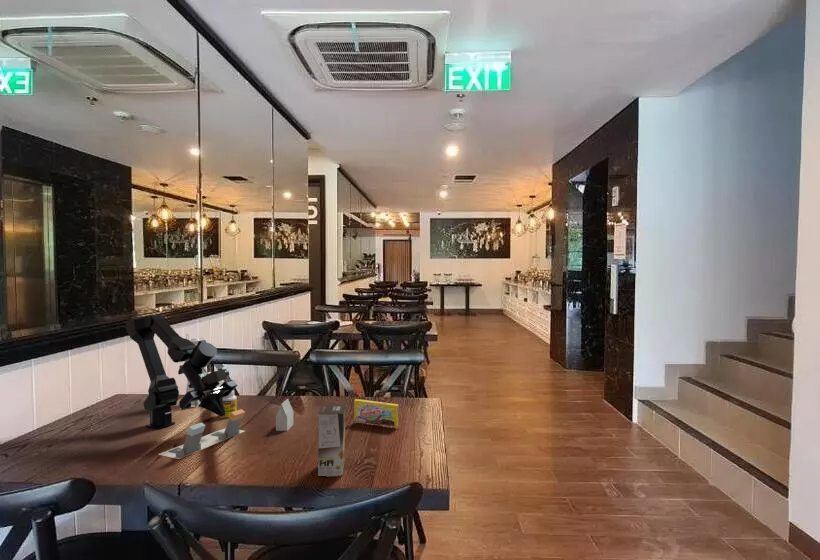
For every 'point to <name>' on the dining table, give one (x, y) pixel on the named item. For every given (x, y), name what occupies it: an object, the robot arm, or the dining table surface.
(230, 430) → the lever
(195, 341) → the skyscraper
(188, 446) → the lever
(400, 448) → the dining table surface
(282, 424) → the grey house block
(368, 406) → the candy box
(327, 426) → the coffee box
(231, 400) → the supplement bottle
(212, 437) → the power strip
